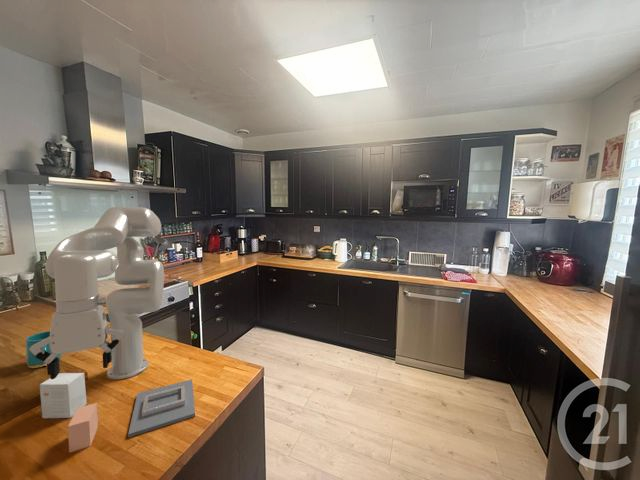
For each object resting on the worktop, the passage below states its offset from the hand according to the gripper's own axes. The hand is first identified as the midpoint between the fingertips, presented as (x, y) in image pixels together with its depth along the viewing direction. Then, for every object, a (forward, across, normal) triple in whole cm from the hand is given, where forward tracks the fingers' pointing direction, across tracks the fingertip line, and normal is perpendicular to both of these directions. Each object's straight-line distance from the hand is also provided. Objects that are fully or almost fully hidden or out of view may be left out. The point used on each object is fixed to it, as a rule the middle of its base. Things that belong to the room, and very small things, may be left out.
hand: (81, 370), depth 64 cm
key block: (+20, +1, -2) cm, 20 cm away
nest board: (+20, -17, -6) cm, 27 cm away
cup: (+20, +24, -54) cm, 62 cm away
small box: (+20, +8, -17) cm, 28 cm away
